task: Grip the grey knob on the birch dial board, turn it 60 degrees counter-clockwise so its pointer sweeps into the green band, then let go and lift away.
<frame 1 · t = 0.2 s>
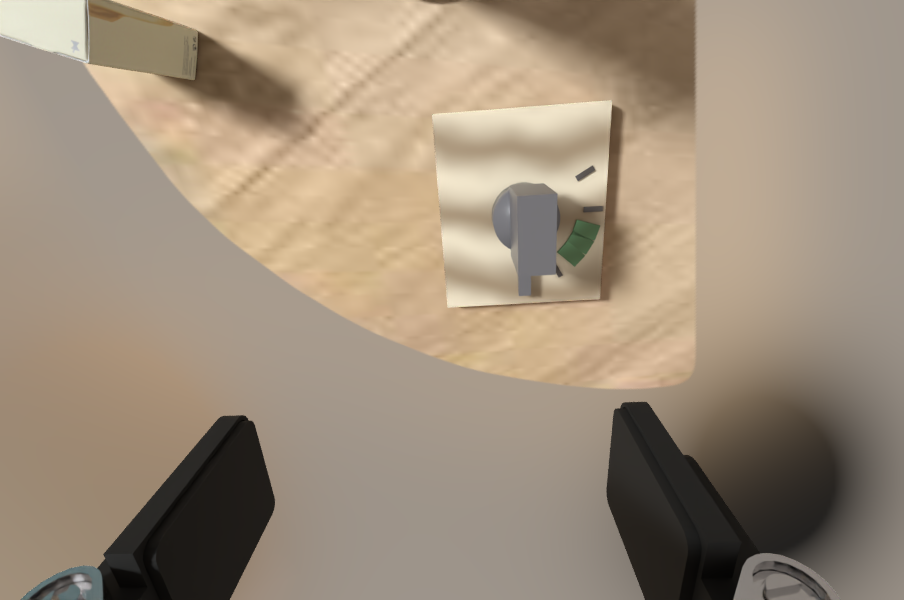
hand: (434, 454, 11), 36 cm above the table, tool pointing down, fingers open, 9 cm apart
knob: (529, 250, 39), point 7 cm above the table, hinge at 0.0°
dial board: (519, 209, 44), on the table
skincare box: (164, 45, 40), on the table
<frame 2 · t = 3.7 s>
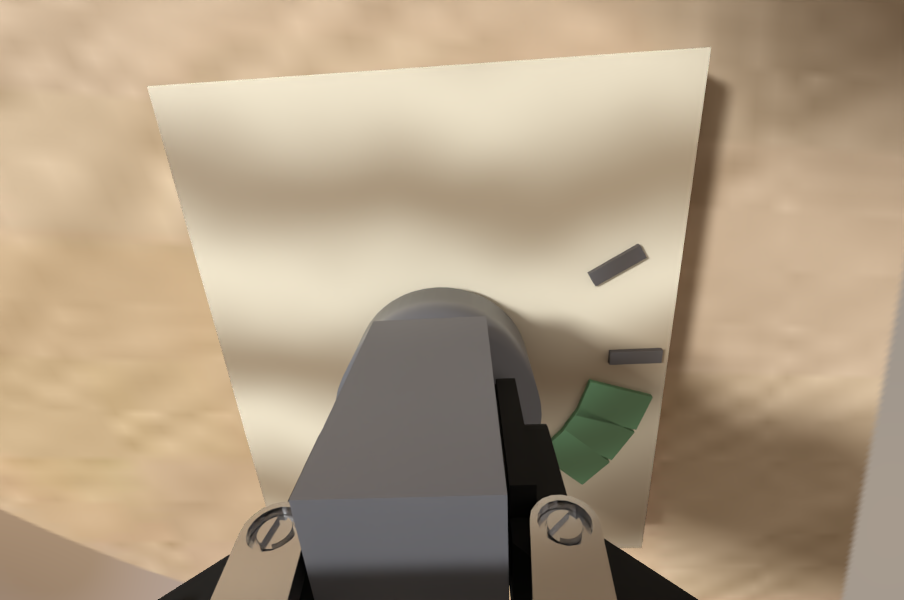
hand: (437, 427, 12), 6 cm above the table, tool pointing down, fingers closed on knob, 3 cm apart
knob: (441, 523, 12), point 7 cm above the table, hinge at 0.1°, touching gripper
dial board: (445, 337, 18), on the table
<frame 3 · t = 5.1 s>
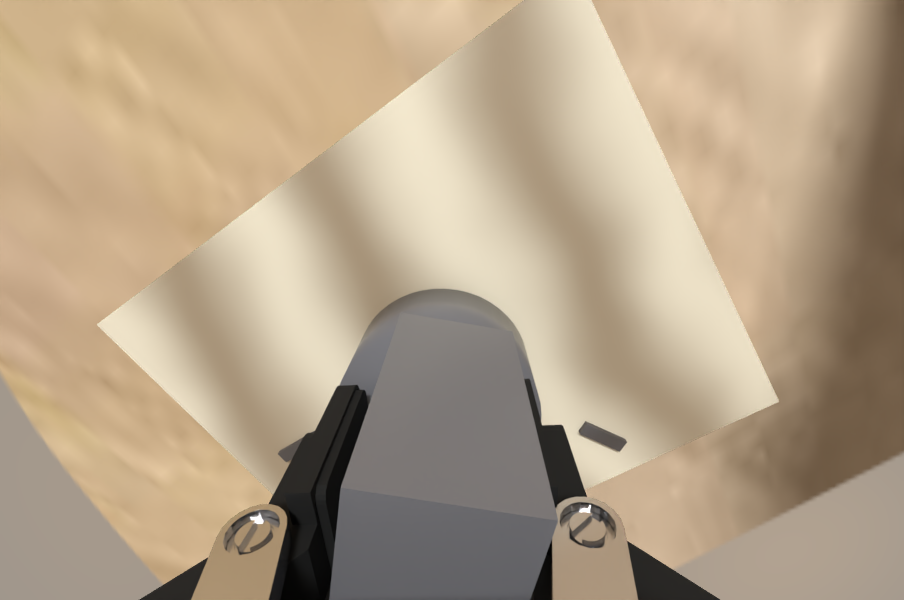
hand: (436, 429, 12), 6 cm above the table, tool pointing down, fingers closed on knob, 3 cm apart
knob: (421, 524, 12), point 7 cm above the table, hinge at 46.6°, touching gripper
dial board: (445, 338, 18), on the table
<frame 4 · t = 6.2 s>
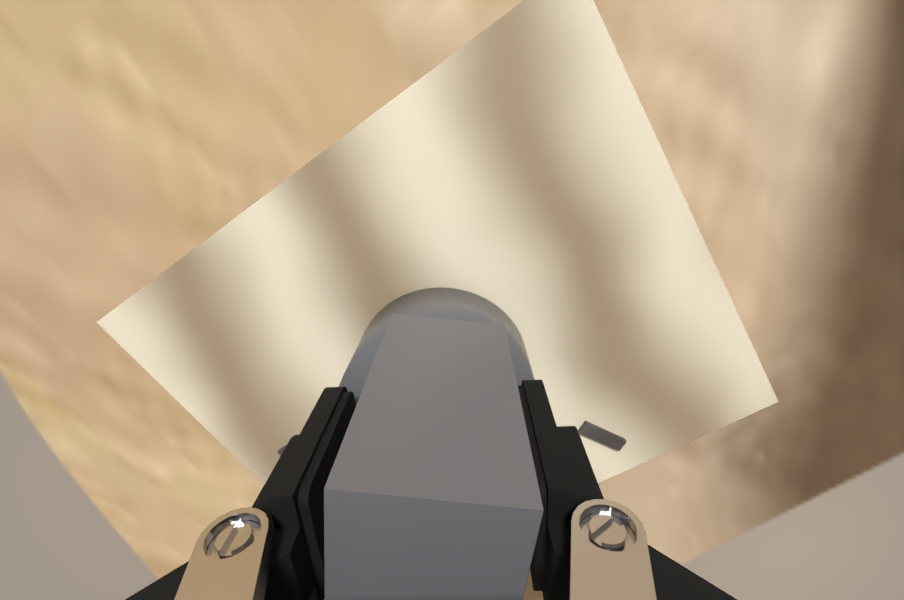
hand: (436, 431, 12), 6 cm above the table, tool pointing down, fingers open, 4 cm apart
knob: (426, 523, 12), point 7 cm above the table, hinge at 50.8°
dial board: (445, 337, 18), on the table
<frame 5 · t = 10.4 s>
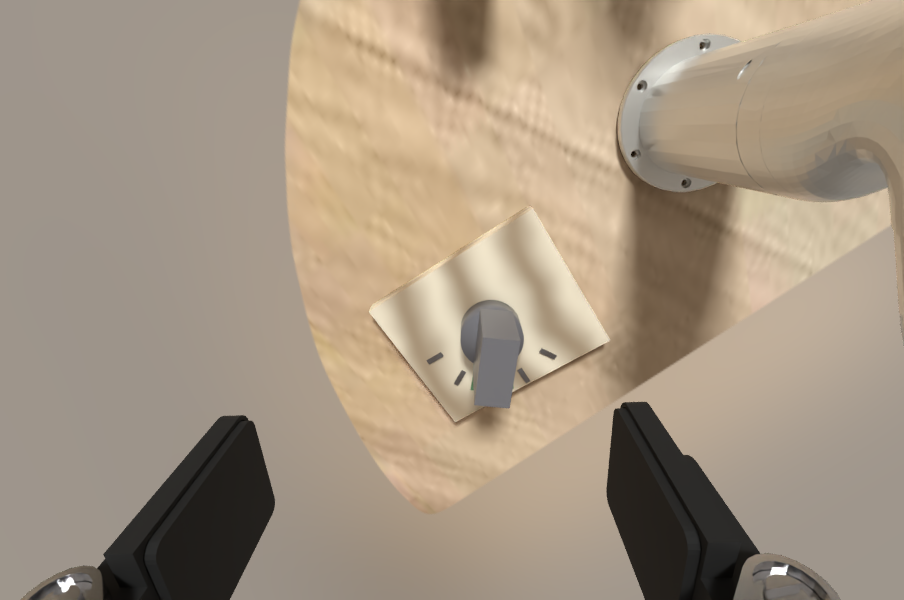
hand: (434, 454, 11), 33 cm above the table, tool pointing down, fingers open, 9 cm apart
knob: (490, 371, 41), point 7 cm above the table, hinge at 51.6°
dial board: (489, 318, 46), on the table
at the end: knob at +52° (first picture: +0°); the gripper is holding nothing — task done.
